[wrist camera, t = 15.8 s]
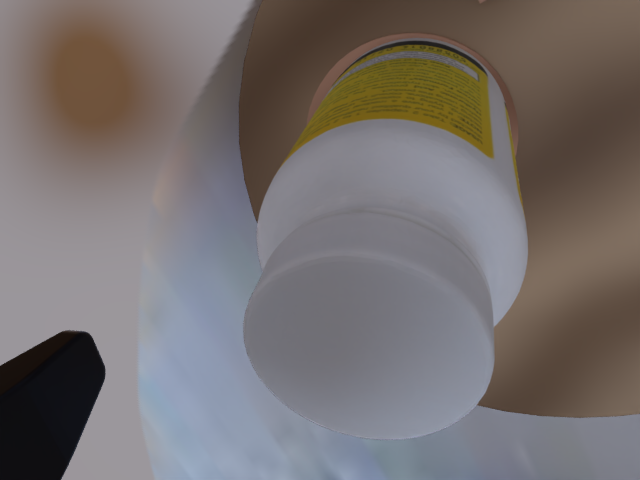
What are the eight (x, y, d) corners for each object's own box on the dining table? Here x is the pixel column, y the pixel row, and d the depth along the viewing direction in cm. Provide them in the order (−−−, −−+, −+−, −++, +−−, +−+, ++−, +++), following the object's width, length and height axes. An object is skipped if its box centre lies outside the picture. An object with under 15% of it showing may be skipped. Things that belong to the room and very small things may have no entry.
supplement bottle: (290, 99, 17) (133, 293, 9) (449, -8, 14) (430, 128, 6) (384, 232, 19) (323, 493, 11) (540, 158, 16) (613, 426, 8)
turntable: (1191, 142, 14) (1632, 300, 9) (529, 454, 25) (546, 606, 20) (654, -597, 10) (867, -1134, 5) (152, 164, 21) (48, 257, 16)
